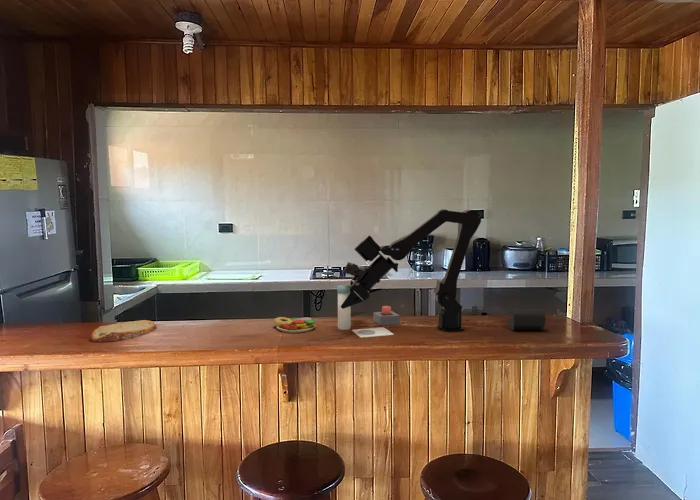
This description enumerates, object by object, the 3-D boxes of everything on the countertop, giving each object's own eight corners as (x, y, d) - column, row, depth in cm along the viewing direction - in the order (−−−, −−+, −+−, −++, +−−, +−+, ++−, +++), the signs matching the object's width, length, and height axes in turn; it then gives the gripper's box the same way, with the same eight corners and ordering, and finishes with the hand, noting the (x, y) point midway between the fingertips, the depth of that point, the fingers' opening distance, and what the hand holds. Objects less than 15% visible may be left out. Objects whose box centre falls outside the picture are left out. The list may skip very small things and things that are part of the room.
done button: (388, 316, 172) (388, 305, 172) (392, 318, 169) (392, 307, 169) (380, 317, 171) (380, 306, 171) (383, 319, 168) (383, 307, 168)
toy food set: (270, 326, 166) (270, 317, 166) (307, 322, 172) (307, 313, 172) (284, 336, 155) (284, 326, 154) (322, 331, 161) (322, 321, 160)
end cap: (514, 332, 158) (514, 311, 157) (507, 326, 165) (507, 306, 164) (545, 332, 158) (546, 311, 157) (537, 326, 165) (537, 306, 164)
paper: (383, 327, 163) (383, 326, 163) (393, 334, 155) (393, 333, 155) (351, 330, 160) (351, 329, 160) (360, 337, 152) (360, 336, 152)
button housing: (392, 319, 175) (392, 311, 175) (399, 324, 168) (399, 315, 168) (373, 320, 173) (373, 312, 173) (380, 325, 166) (380, 316, 166)
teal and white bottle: (348, 326, 166) (348, 284, 164) (352, 329, 162) (352, 286, 160) (336, 327, 164) (335, 285, 163) (339, 330, 160) (339, 287, 159)
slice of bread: (158, 326, 168) (157, 315, 167) (151, 340, 151) (151, 328, 150) (100, 329, 163) (99, 318, 163) (86, 345, 146) (86, 332, 145)
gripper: (358, 251, 170) (326, 282, 171) (358, 257, 151) (322, 292, 152) (381, 274, 170) (349, 305, 172) (384, 282, 152) (348, 318, 153)
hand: (342, 304), depth 162 cm, fingers open, 9 cm apart
